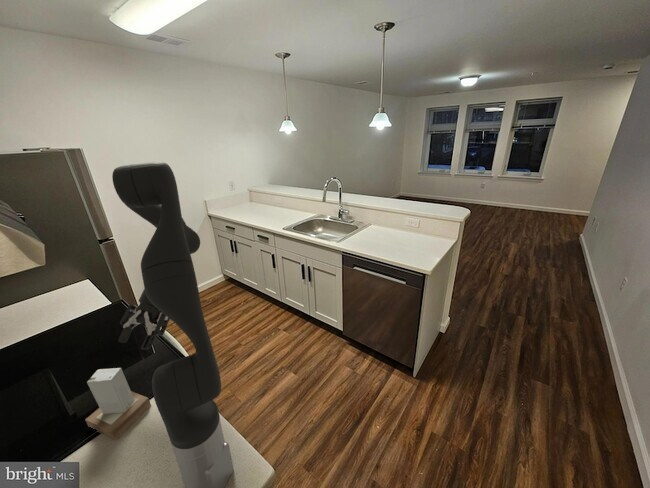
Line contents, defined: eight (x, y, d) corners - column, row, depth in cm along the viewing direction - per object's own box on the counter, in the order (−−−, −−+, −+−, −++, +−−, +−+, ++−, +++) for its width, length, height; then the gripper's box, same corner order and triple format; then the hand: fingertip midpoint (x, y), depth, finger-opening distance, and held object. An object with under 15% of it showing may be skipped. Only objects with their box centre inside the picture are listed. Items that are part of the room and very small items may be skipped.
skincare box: (135, 398, 75) (123, 366, 71) (125, 414, 71) (112, 380, 66) (111, 400, 74) (98, 367, 70) (100, 415, 70) (85, 381, 66)
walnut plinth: (150, 405, 76) (148, 397, 75) (115, 440, 68) (112, 431, 67) (125, 395, 79) (122, 387, 78) (88, 427, 71) (85, 419, 69)
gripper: (131, 282, 79) (102, 339, 73) (168, 290, 75) (141, 351, 69) (151, 289, 86) (126, 341, 80) (186, 297, 82) (162, 352, 76)
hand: (133, 346), depth 75 cm, fingers open, 8 cm apart
